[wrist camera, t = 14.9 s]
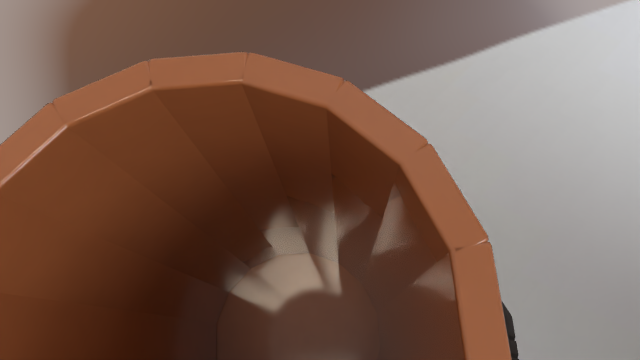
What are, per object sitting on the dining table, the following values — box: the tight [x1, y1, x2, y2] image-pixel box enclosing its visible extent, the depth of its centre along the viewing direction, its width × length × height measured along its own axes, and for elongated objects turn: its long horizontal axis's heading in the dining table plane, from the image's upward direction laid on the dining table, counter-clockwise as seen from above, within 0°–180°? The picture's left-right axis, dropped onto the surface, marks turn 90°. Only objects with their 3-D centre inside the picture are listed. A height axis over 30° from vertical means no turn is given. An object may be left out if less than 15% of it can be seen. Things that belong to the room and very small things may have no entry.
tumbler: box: [0, 52, 512, 360], centre depth 9 cm, size 6×6×11 cm
